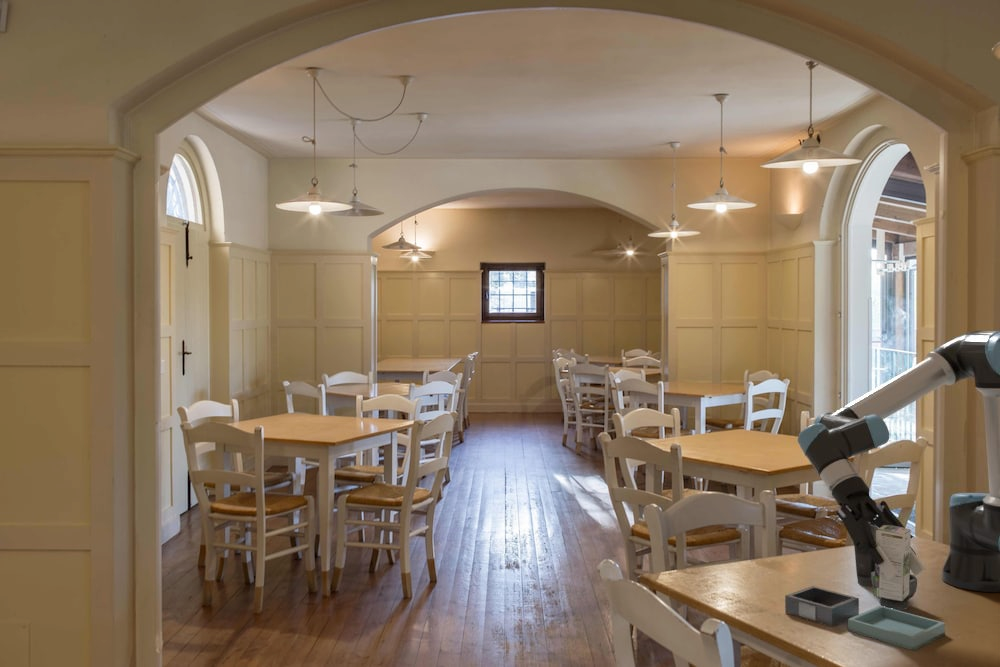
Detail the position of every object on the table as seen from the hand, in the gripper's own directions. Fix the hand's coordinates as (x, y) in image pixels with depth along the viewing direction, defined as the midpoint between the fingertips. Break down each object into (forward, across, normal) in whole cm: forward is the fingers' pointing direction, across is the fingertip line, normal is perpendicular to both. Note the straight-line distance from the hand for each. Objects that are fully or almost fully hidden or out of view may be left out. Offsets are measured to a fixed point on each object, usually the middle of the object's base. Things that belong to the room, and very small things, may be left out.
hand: (906, 574), depth 172 cm
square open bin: (-3, +5, -22) cm, 23 cm away
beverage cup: (-11, -23, -31) cm, 40 cm away
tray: (+7, -1, -12) cm, 14 cm away
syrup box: (+2, 0, -6) cm, 7 cm away
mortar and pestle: (-2, -16, -21) cm, 27 cm away
